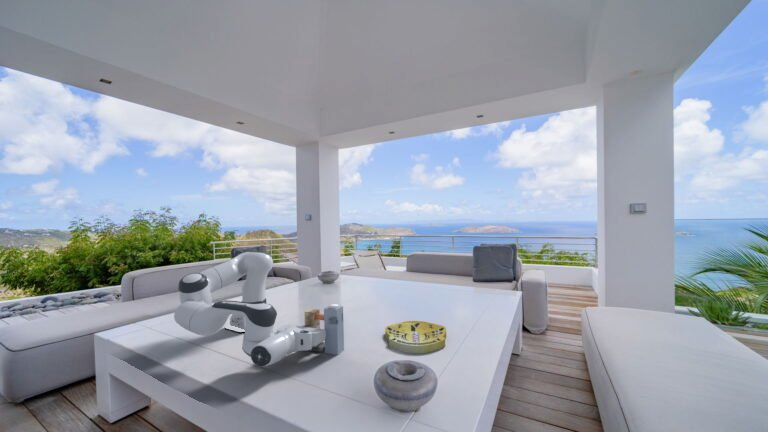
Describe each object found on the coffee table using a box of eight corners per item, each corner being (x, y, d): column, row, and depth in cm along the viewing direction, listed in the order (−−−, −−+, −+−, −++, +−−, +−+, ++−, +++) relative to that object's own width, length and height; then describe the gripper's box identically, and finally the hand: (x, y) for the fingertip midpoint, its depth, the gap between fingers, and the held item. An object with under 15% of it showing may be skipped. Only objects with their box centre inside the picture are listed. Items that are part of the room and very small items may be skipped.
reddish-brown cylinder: (314, 320, 122) (314, 314, 123) (318, 318, 125) (318, 312, 125) (326, 321, 120) (326, 315, 121) (329, 319, 123) (329, 313, 123)
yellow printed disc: (380, 345, 118) (387, 320, 148) (381, 353, 118) (387, 327, 148) (451, 346, 115) (443, 321, 145) (451, 354, 115) (443, 327, 145)
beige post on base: (300, 345, 122) (300, 312, 123) (310, 338, 129) (310, 307, 129) (314, 347, 120) (314, 313, 120) (324, 340, 126) (323, 308, 126)
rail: (276, 345, 128) (275, 336, 128) (283, 341, 133) (283, 332, 133) (322, 352, 119) (322, 342, 119) (329, 347, 124) (329, 338, 124)
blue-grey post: (325, 353, 119) (323, 306, 119) (331, 348, 124) (330, 303, 124) (337, 355, 117) (336, 307, 117) (344, 349, 121) (342, 304, 122)
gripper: (269, 344, 115) (293, 331, 128) (313, 351, 108) (333, 337, 121) (269, 327, 116) (292, 317, 128) (313, 333, 108) (333, 321, 121)
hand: (312, 327), depth 124 cm, fingers closed on beige post on base, 4 cm apart
